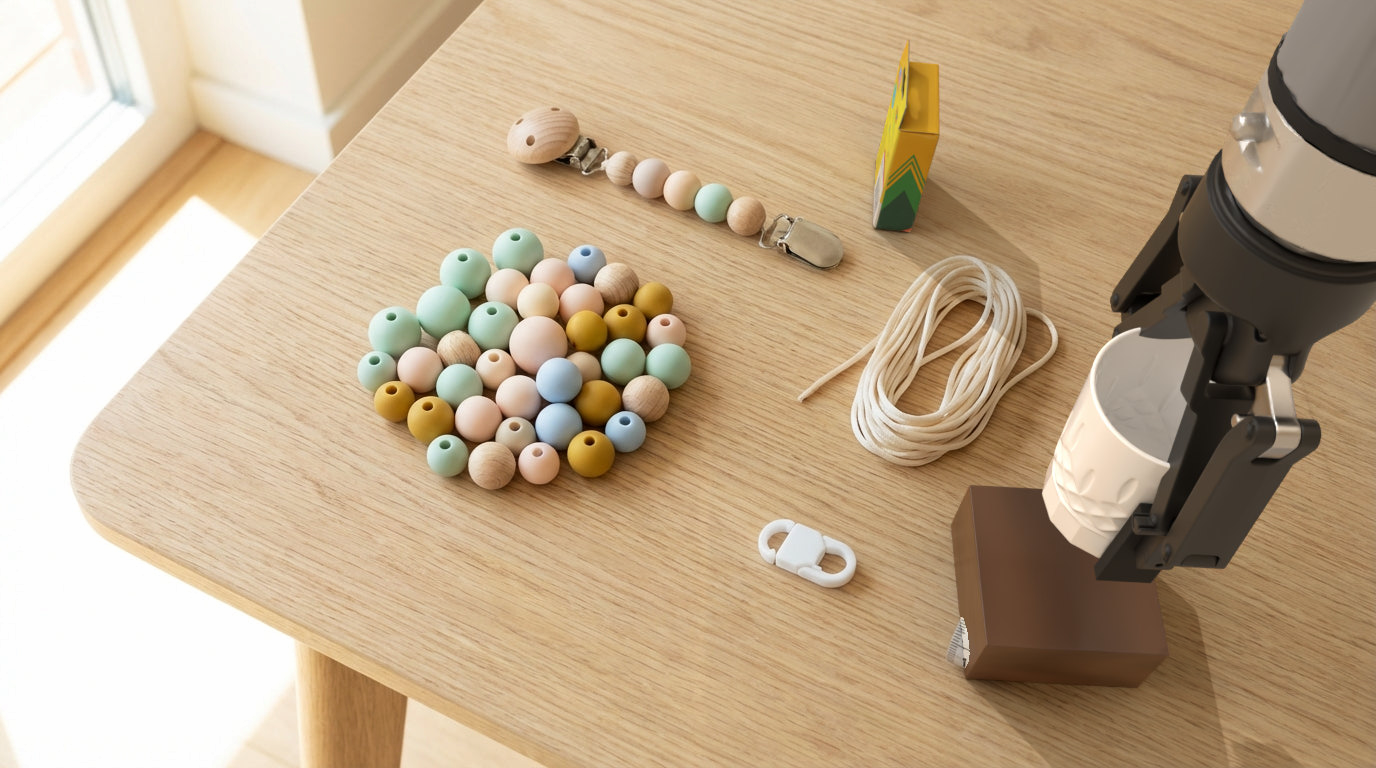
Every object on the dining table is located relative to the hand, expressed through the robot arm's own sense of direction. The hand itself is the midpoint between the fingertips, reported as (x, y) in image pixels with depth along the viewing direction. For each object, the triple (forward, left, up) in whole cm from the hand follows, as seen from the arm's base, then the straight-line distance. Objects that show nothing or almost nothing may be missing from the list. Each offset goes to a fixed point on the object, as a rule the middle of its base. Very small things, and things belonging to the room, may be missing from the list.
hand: (1109, 500), depth 62 cm
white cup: (0, 0, 0) cm, 0 cm away
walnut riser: (0, 0, -13) cm, 13 cm away
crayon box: (+7, -33, -13) cm, 36 cm away
